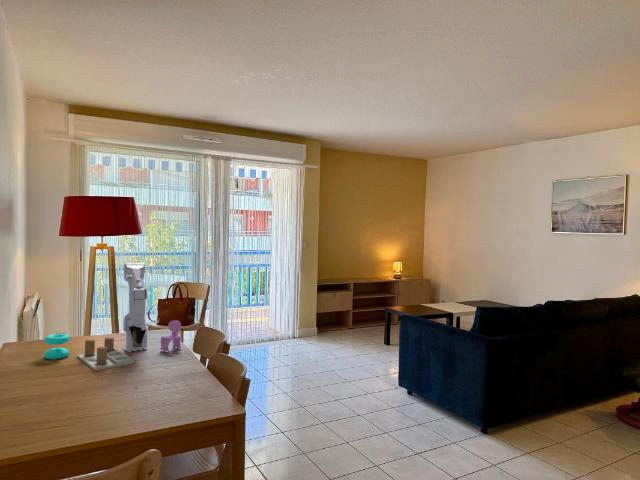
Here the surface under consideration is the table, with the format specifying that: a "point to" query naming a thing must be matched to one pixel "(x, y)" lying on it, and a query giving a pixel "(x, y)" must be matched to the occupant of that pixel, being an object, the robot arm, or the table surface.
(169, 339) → the toy chair
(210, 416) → the table surface
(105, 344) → the pin board
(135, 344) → the walnut pin
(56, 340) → the donuts
